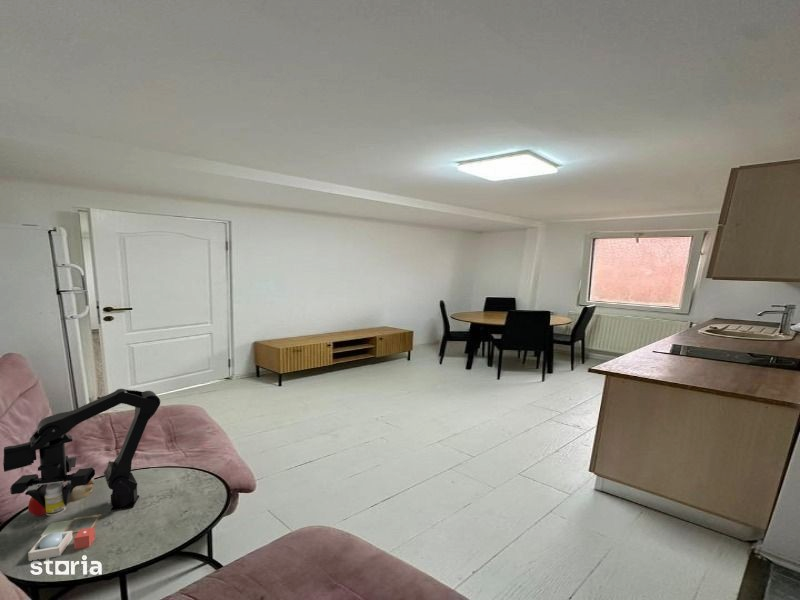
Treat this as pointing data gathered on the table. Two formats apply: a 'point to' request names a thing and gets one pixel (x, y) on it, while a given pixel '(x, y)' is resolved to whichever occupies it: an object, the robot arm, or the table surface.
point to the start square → (83, 518)
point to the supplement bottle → (54, 499)
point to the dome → (51, 540)
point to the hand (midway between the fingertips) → (56, 505)
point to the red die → (84, 538)
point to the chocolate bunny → (81, 491)
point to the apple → (36, 508)
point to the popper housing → (50, 552)
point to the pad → (56, 527)
